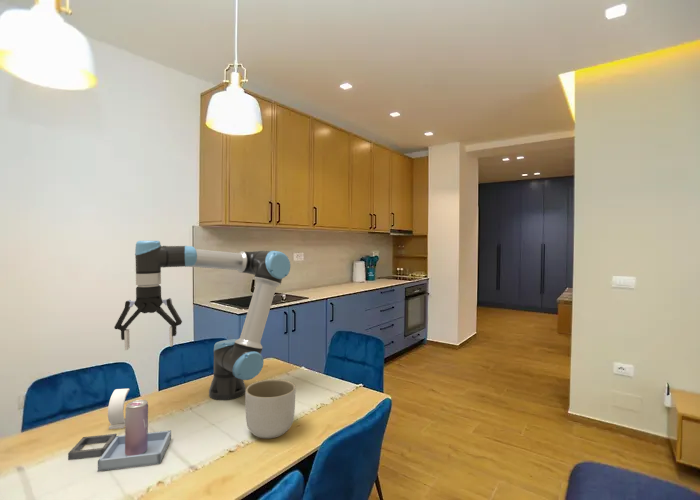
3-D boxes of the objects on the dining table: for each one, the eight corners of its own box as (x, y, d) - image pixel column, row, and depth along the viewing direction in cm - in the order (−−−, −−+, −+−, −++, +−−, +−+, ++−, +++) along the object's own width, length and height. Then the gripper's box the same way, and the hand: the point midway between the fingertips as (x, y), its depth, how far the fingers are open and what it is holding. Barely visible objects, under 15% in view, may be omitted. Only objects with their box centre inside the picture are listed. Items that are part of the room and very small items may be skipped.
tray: (171, 439, 119) (171, 430, 119) (160, 463, 105) (160, 453, 105) (116, 445, 115) (116, 435, 115) (97, 471, 101) (97, 461, 101)
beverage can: (131, 447, 113) (131, 399, 113) (151, 446, 113) (151, 399, 113) (120, 458, 107) (121, 407, 107) (141, 457, 107) (142, 407, 107)
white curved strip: (129, 421, 131) (129, 388, 131) (122, 429, 125) (122, 395, 125) (115, 422, 130) (115, 389, 130) (107, 430, 124) (108, 395, 124)
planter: (250, 449, 113) (251, 401, 113) (240, 425, 129) (241, 383, 129) (301, 437, 121) (302, 392, 121) (286, 416, 136) (287, 376, 136)
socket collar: (116, 439, 118) (116, 433, 118) (104, 455, 109) (104, 449, 109) (83, 443, 116) (83, 437, 116) (68, 460, 107) (68, 453, 107)
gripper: (189, 283, 130) (190, 341, 131) (110, 285, 123) (111, 347, 123) (186, 285, 123) (187, 346, 123) (102, 288, 116) (103, 353, 116)
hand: (149, 347), depth 123 cm, fingers open, 13 cm apart
